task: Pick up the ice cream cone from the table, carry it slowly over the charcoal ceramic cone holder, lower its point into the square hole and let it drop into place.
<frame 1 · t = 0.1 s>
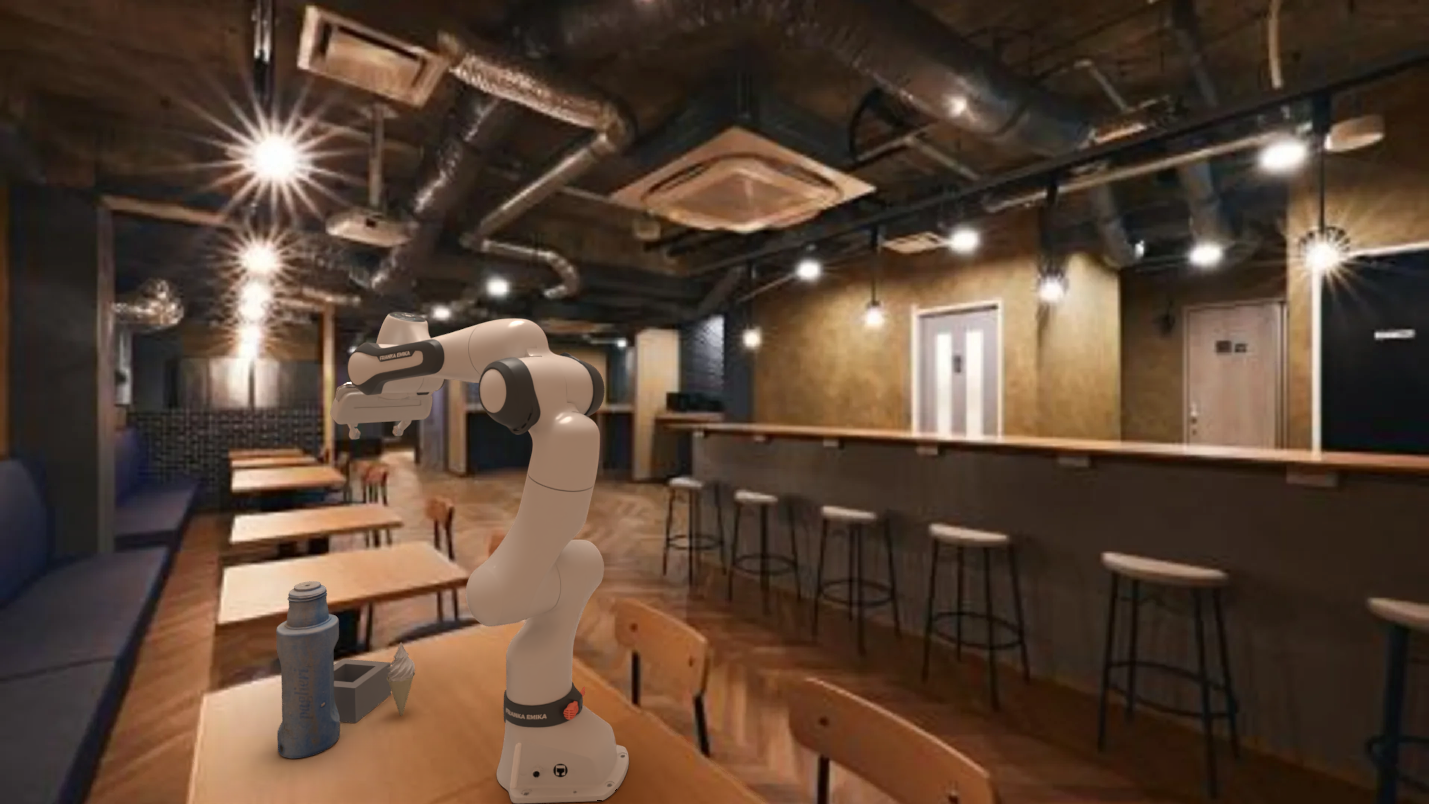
hand: (376, 436, 141), 54 cm above the table, tool tilted 30°, fingers open, 8 cm apart
bottle: (310, 745, 118), on the table
ice cream cone: (401, 716, 128), on the table
cone holder: (349, 706, 131), on the table
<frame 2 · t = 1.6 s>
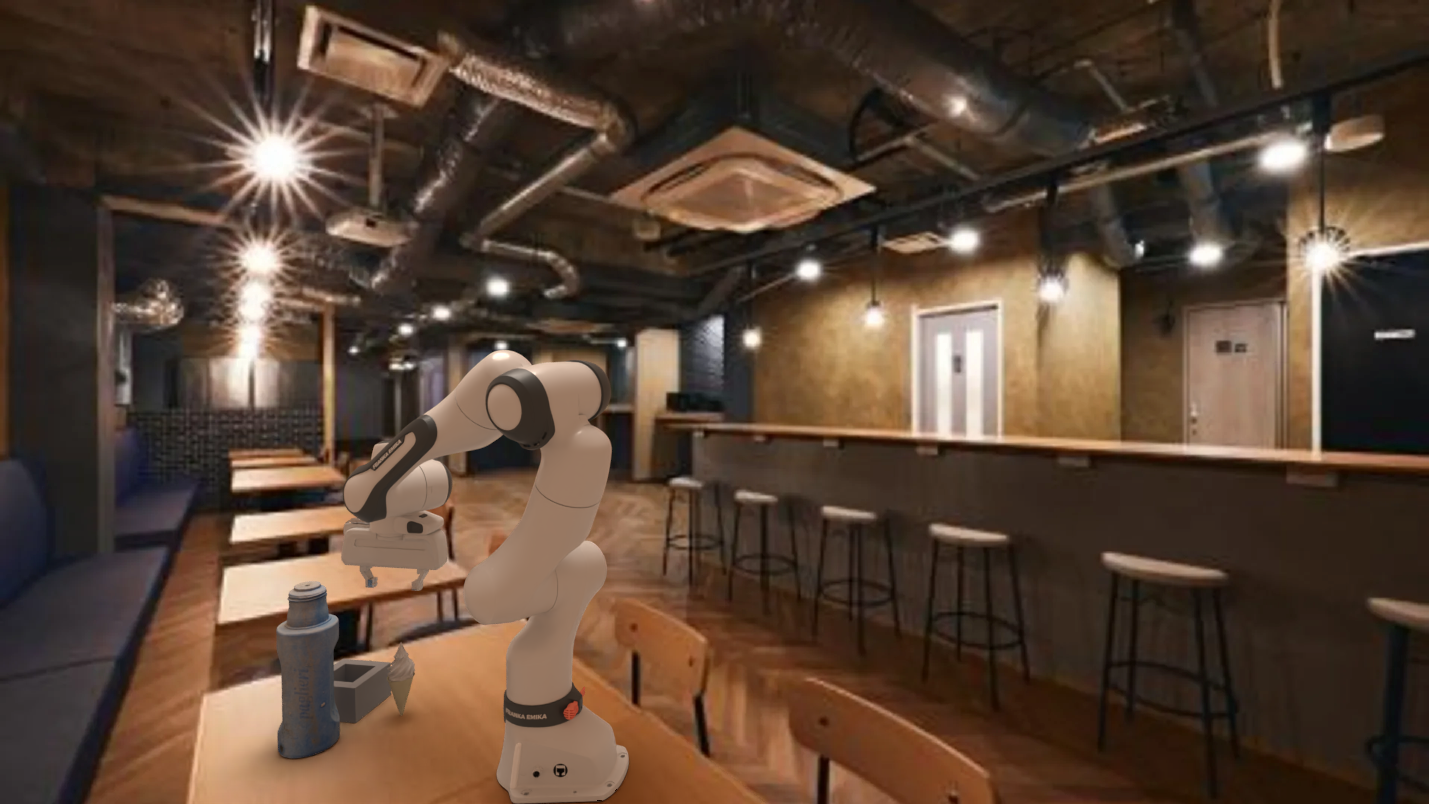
hand: (394, 588, 127), 26 cm above the table, tool pointing down, fingers open, 8 cm apart
nothing on the table moved.
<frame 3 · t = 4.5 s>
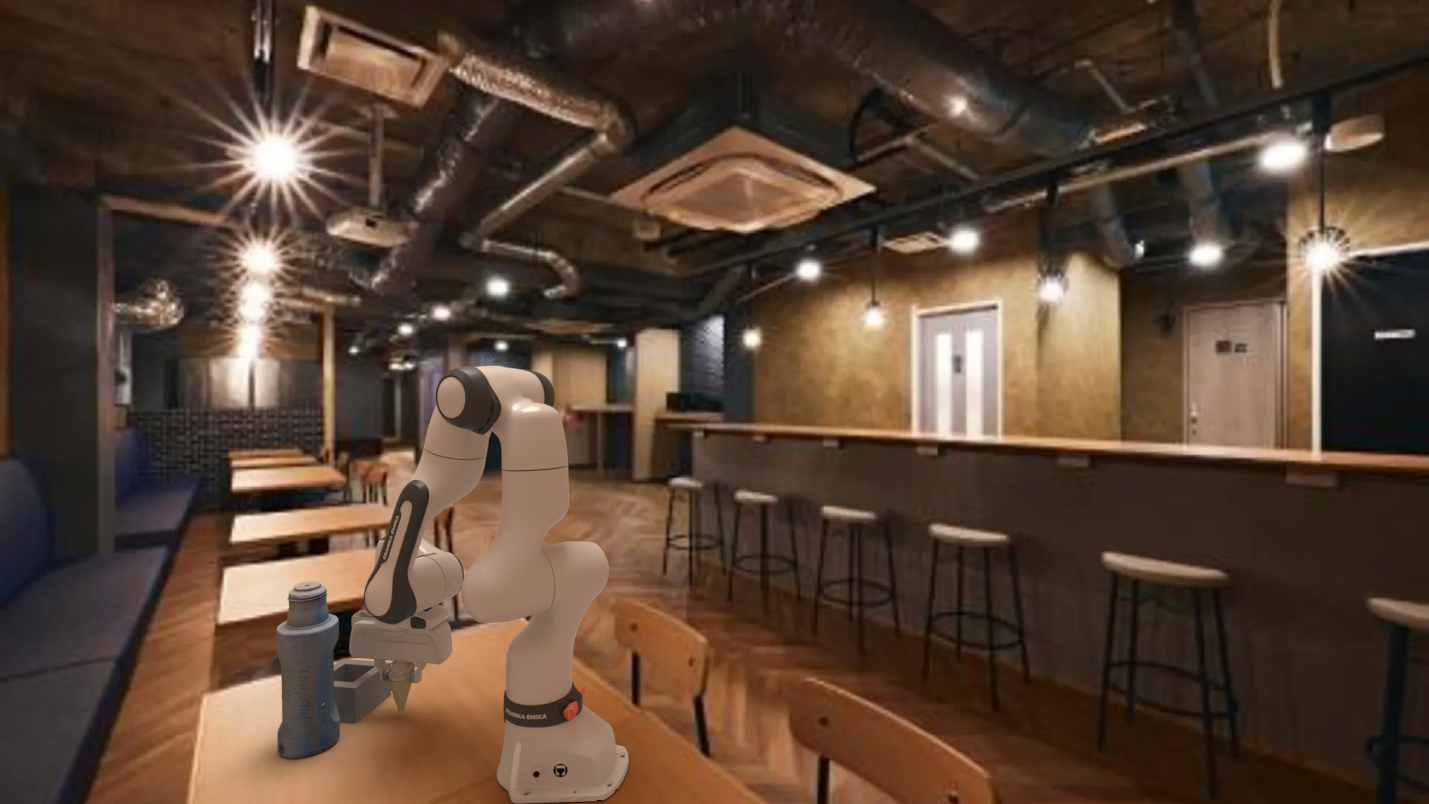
hand: (401, 680, 128), 7 cm above the table, tool pointing down, fingers closed on ice cream cone, 5 cm apart
ice cream cone: (401, 716, 128), on the table, touching gripper
everything else where it was.
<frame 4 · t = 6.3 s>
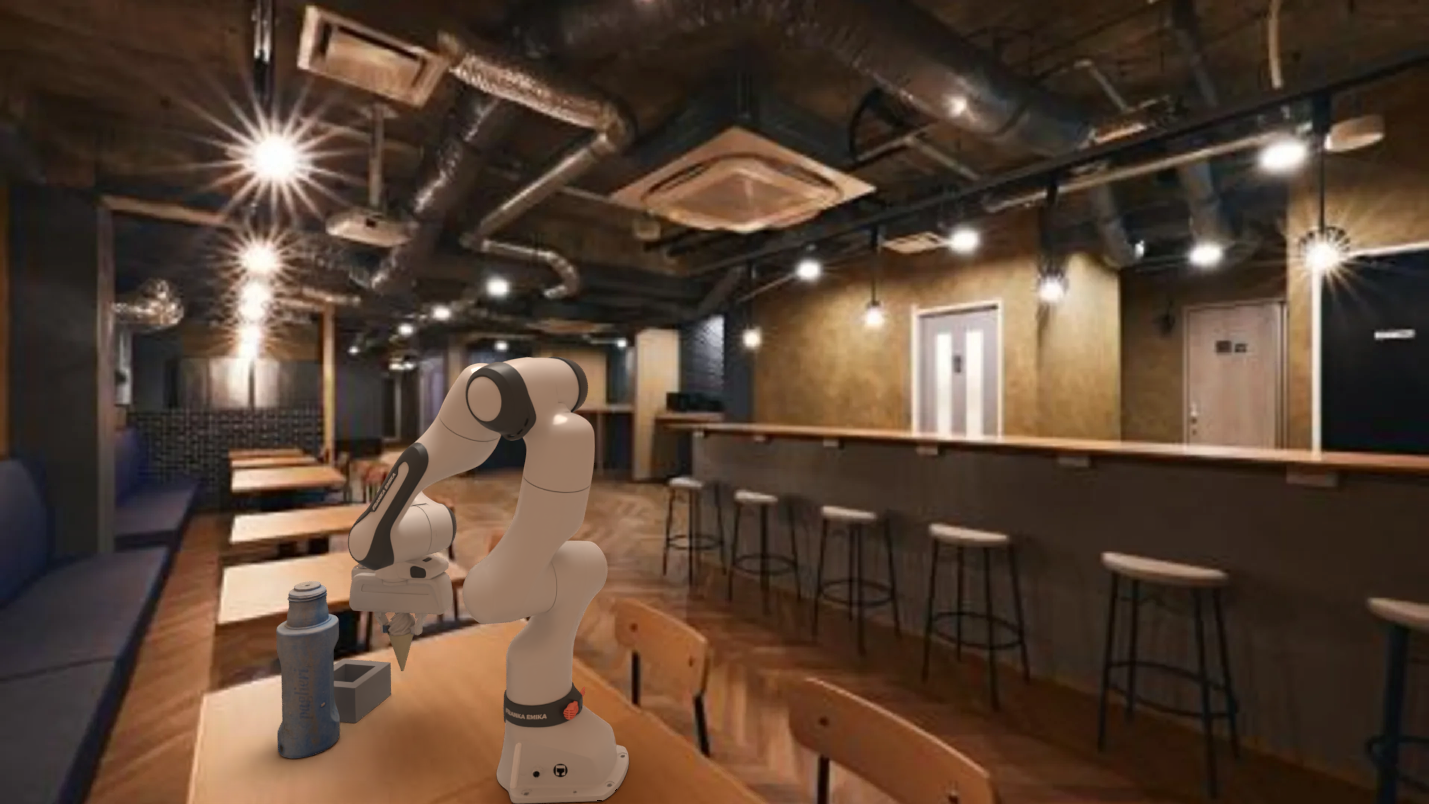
hand: (401, 633, 127), 17 cm above the table, tool pointing down, fingers closed on ice cream cone, 5 cm apart
ice cream cone: (402, 671, 127), point 9 cm above the table, touching gripper
everything else where it was.
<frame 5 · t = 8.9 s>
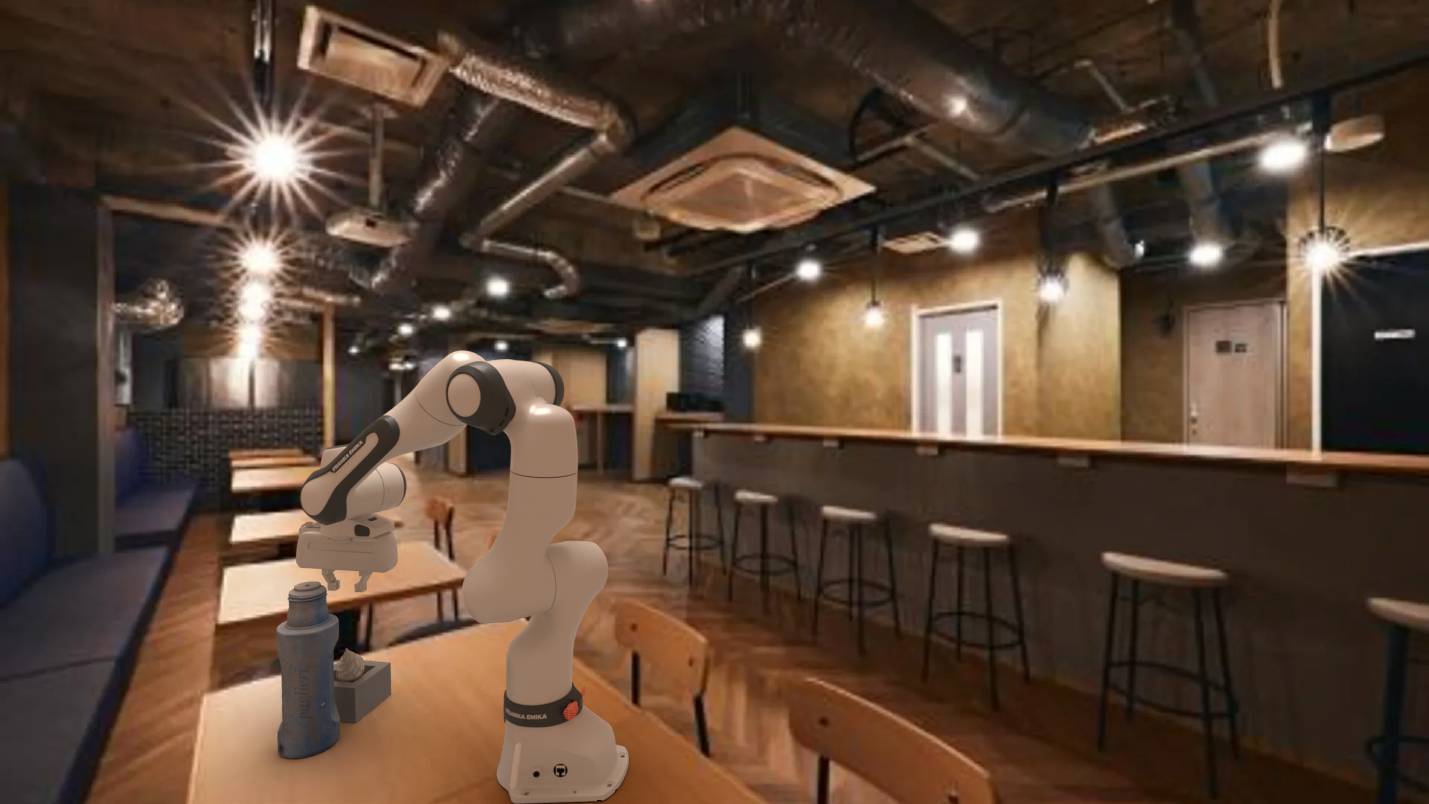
hand: (347, 590, 130), 24 cm above the table, tool pointing down, fingers open, 4 cm apart
ice cream cone: (355, 695, 133), point 1 cm above the table, touching cone holder
everything else where it was.
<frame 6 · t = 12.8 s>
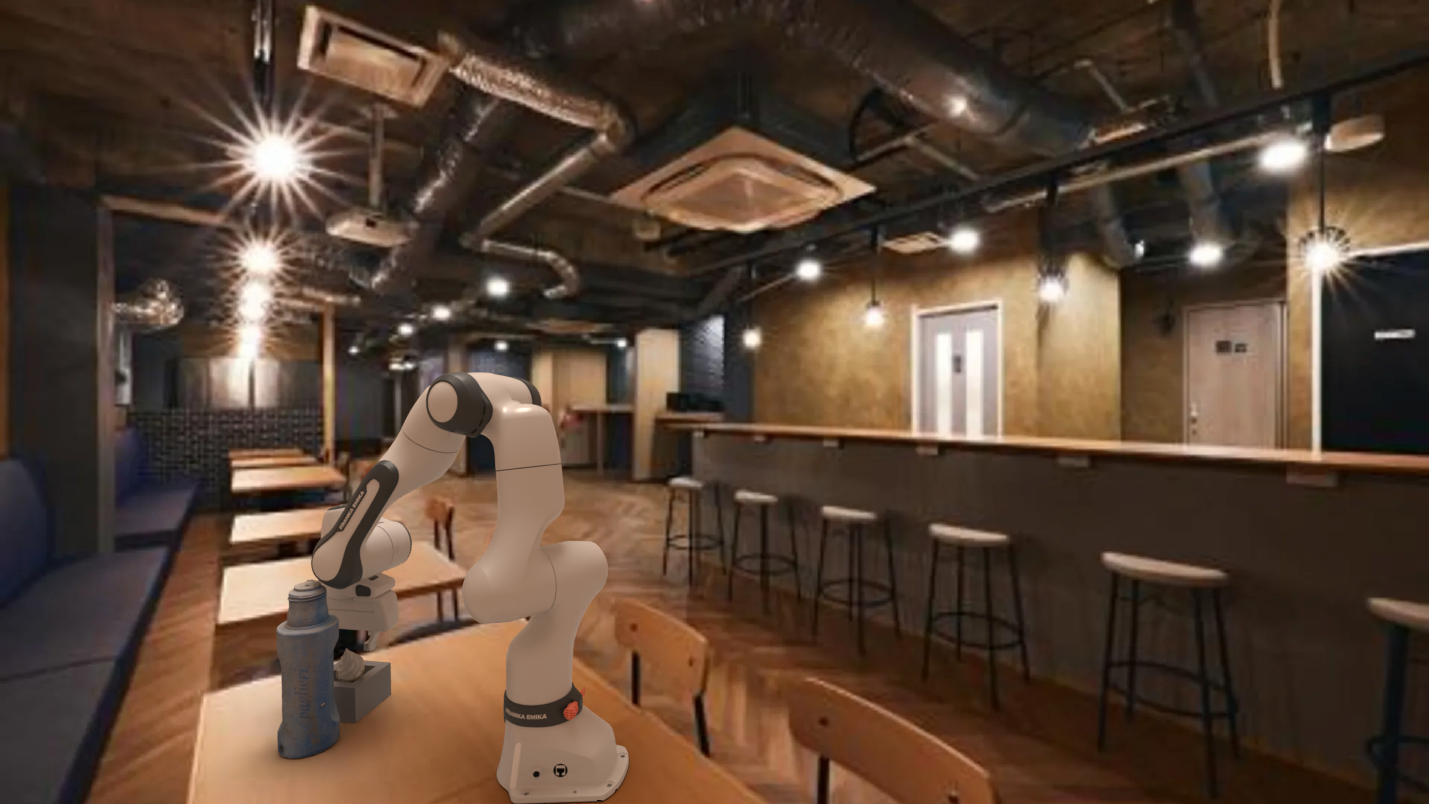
hand: (348, 648, 130), 12 cm above the table, tool pointing down, fingers open, 8 cm apart
nothing on the table moved.
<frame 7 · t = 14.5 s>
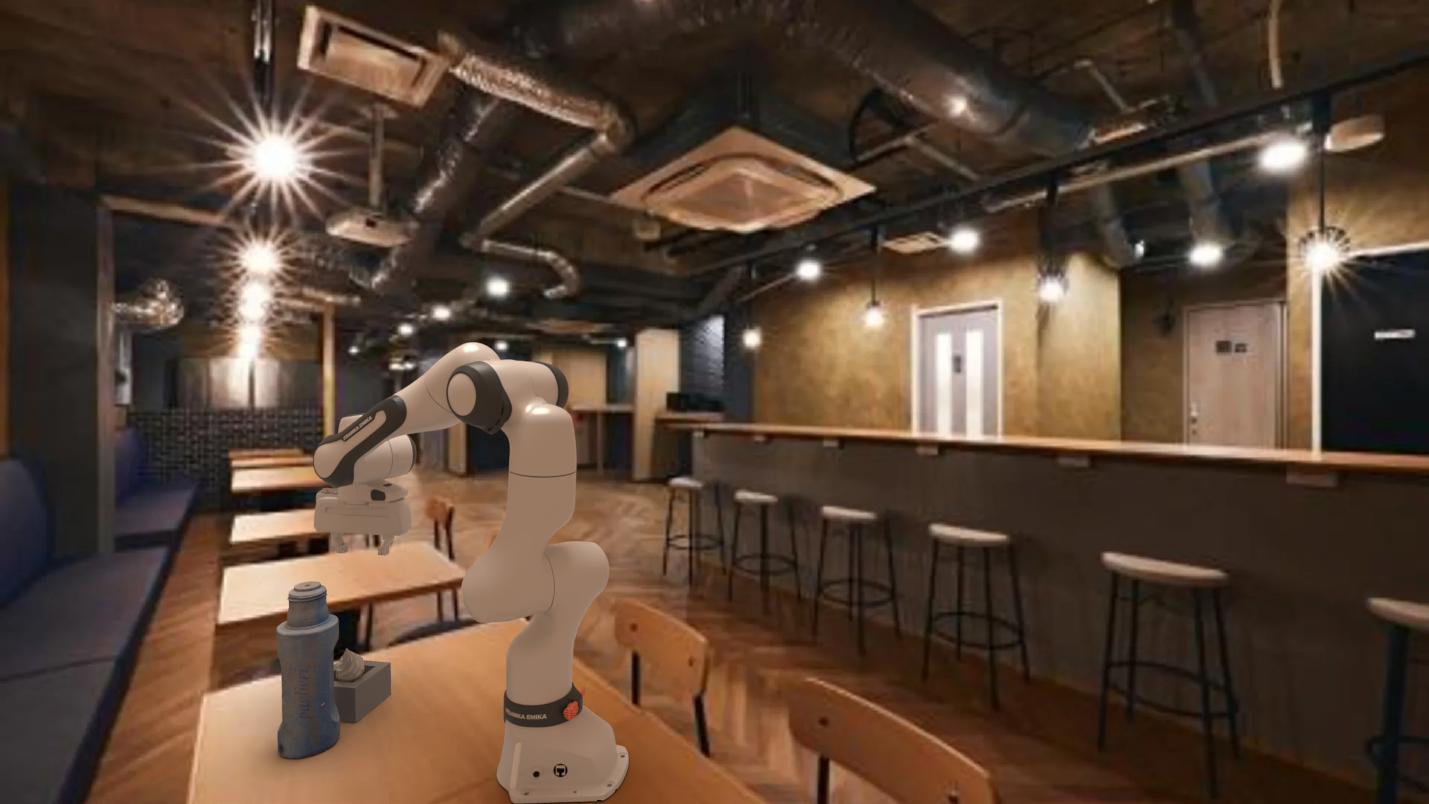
hand: (362, 553, 136), 30 cm above the table, tool pointing down, fingers open, 8 cm apart
nothing on the table moved.
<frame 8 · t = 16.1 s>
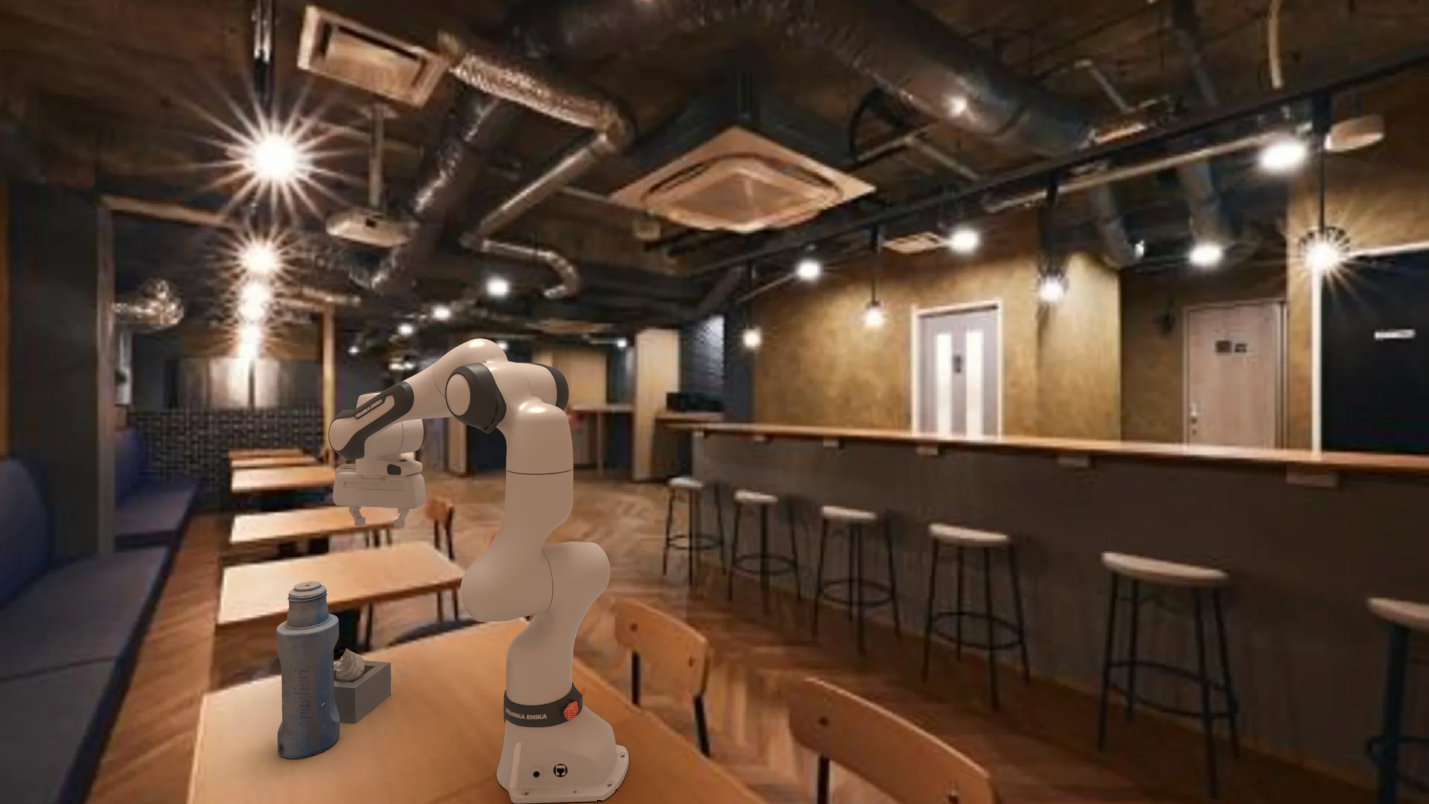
hand: (379, 526, 142), 34 cm above the table, tool pointing down, fingers open, 8 cm apart
nothing on the table moved.
at the end: ice cream cone 2.4 cm from the cone holder (horizontally); ice cream cone point 1.0 cm above the table; the gripper is holding nothing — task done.
